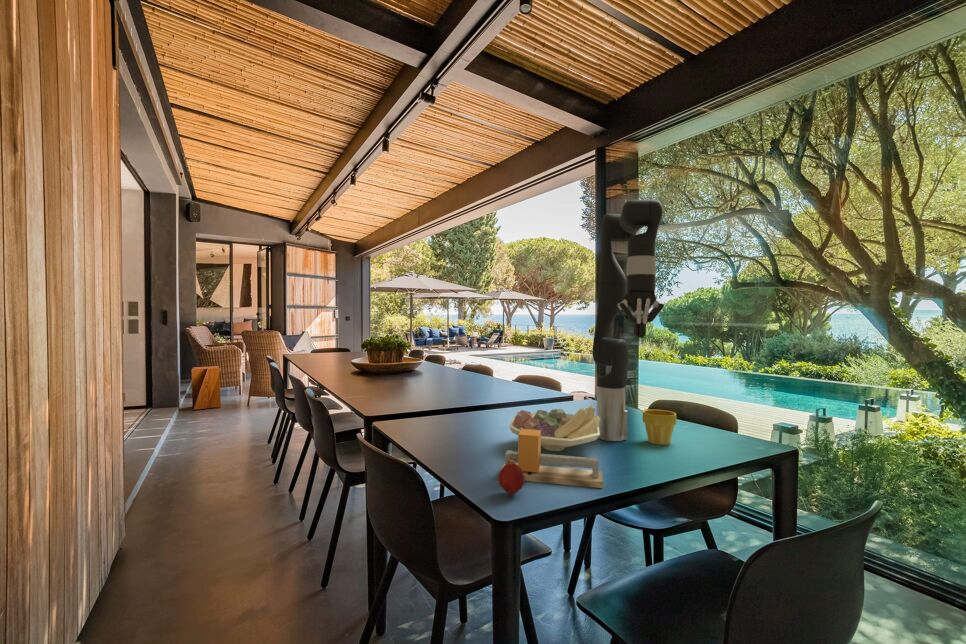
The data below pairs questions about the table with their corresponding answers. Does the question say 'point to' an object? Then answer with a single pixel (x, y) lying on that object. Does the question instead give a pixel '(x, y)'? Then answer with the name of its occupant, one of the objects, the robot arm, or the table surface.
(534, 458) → the upright wooden block
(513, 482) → the onion
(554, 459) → the pipe
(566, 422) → the dish with food
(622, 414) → the robot arm
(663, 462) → the table surface
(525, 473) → the board
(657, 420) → the plant pot
